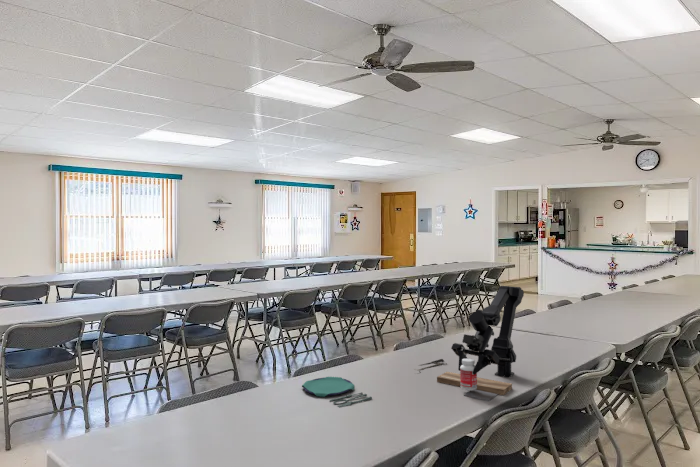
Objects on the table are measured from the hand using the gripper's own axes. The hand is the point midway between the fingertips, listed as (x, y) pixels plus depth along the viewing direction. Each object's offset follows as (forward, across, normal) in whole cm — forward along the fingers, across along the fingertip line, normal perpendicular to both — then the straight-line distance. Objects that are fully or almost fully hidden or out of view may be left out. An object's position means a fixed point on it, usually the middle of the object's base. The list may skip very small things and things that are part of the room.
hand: (466, 372), depth 185 cm
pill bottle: (+4, 0, +6) cm, 7 cm away
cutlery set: (+31, -37, -19) cm, 52 cm away
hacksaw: (-6, -32, +19) cm, 38 cm away
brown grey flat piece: (+2, -3, +10) cm, 10 cm away
